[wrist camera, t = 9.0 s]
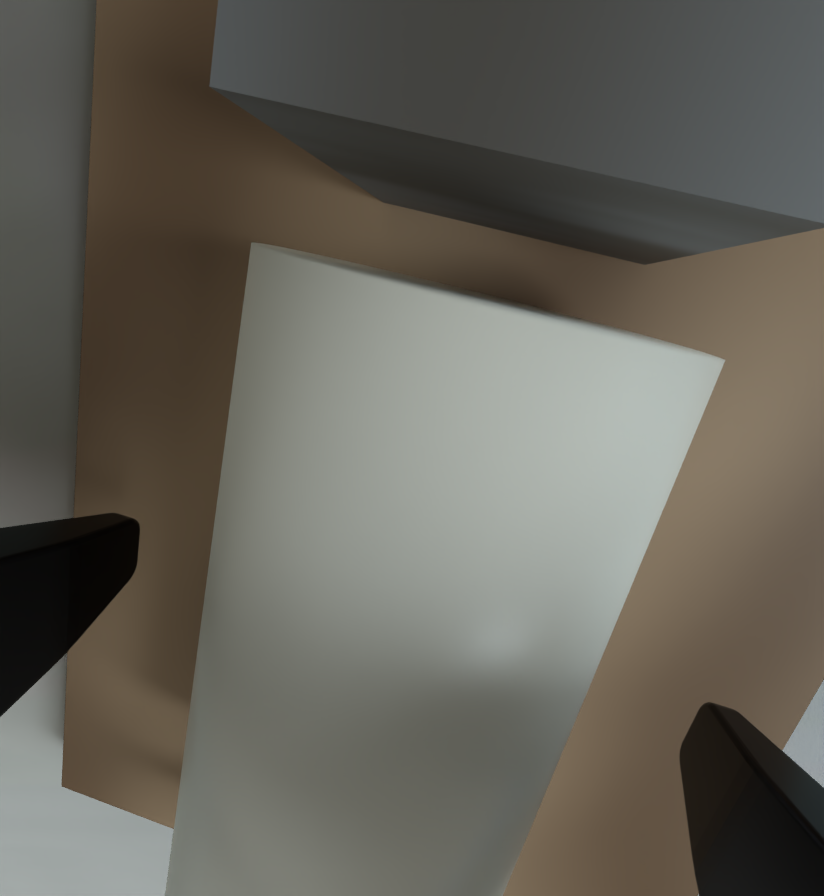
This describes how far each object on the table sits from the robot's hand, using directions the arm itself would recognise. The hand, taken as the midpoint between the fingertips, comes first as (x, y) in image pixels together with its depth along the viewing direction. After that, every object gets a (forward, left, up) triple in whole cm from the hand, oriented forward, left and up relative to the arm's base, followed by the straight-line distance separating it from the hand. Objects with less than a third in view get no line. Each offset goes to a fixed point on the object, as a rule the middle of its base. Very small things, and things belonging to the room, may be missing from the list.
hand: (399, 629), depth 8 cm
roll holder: (0, 0, -3) cm, 3 cm away
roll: (0, 0, -2) cm, 2 cm away
